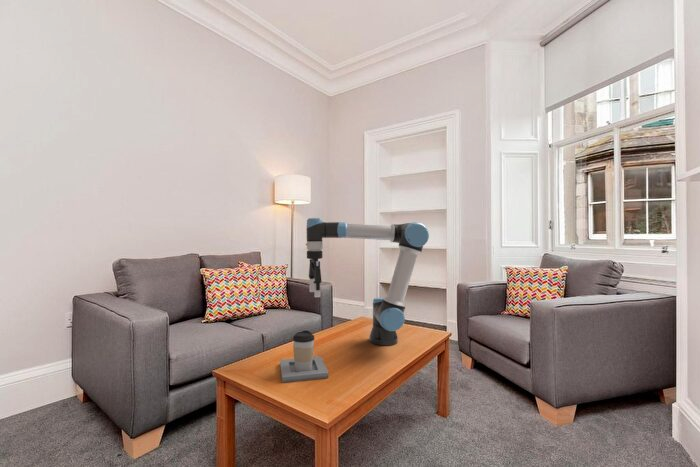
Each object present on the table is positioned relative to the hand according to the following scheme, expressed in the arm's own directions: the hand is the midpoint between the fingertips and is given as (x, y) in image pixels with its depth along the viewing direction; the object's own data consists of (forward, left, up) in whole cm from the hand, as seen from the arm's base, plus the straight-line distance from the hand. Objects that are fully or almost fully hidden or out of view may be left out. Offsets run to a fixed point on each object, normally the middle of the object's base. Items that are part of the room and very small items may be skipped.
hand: (314, 294), depth 159 cm
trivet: (+8, +20, -28) cm, 35 cm away
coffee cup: (+7, +20, -27) cm, 34 cm away
